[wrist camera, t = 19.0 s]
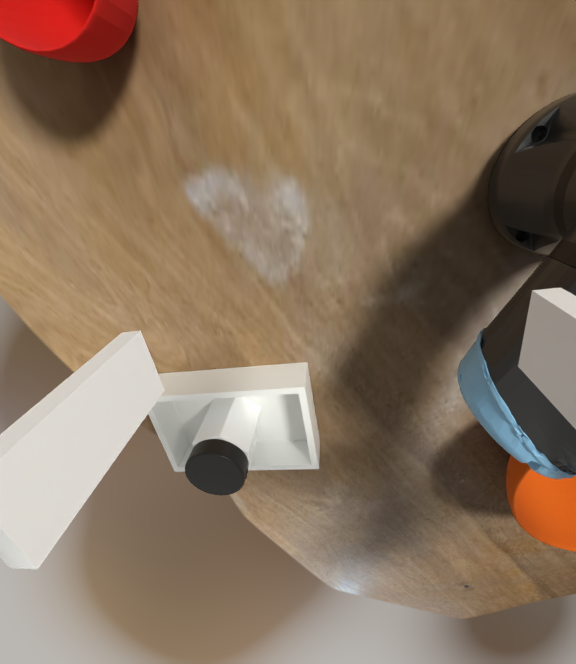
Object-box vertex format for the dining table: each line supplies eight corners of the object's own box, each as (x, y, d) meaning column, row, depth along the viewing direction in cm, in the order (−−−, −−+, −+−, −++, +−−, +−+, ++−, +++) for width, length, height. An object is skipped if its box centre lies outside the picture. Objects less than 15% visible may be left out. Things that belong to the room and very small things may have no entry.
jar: (225, 437, 56) (202, 501, 45) (201, 401, 53) (169, 462, 42) (272, 424, 53) (258, 489, 43) (249, 386, 50) (228, 446, 40)
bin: (307, 362, 48) (304, 387, 43) (319, 439, 55) (318, 468, 50) (159, 373, 52) (140, 397, 47) (188, 444, 59) (174, 471, 54)
